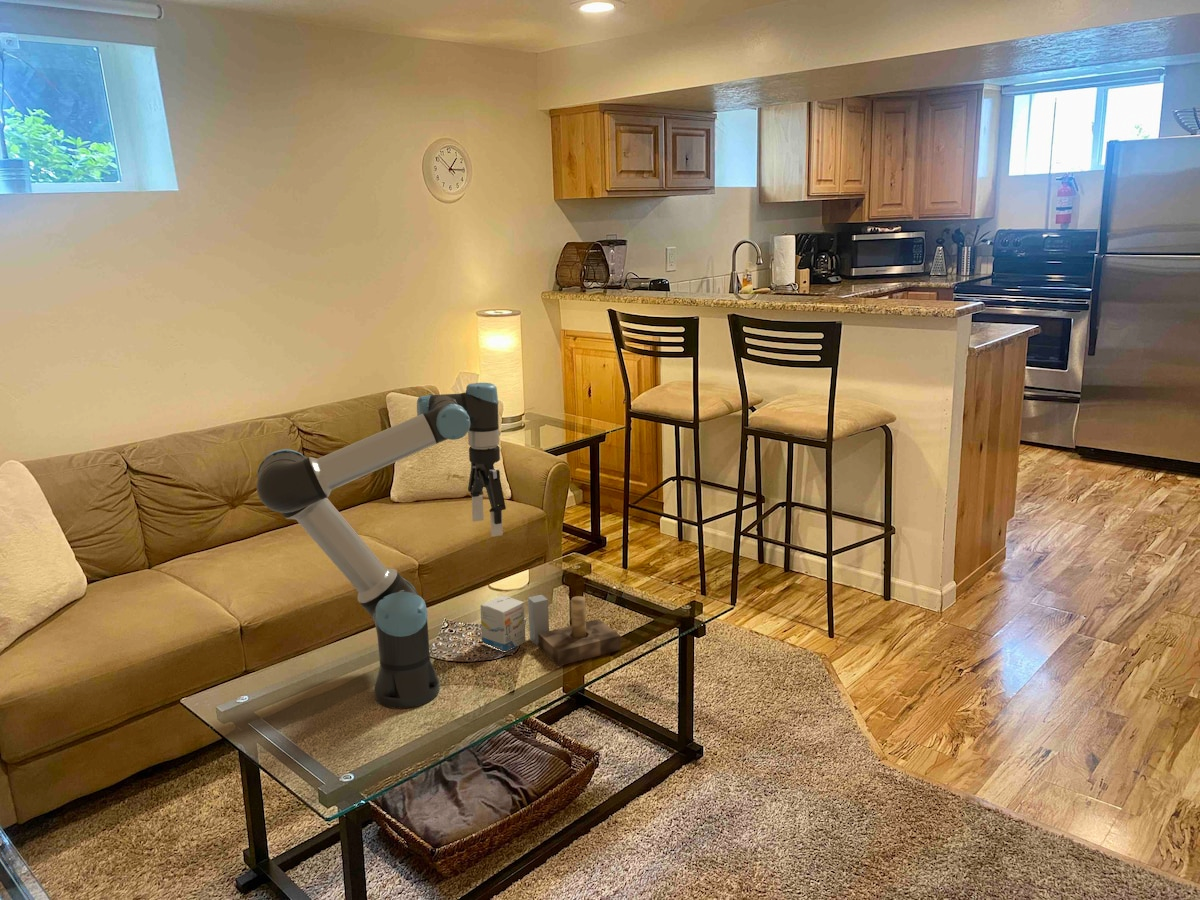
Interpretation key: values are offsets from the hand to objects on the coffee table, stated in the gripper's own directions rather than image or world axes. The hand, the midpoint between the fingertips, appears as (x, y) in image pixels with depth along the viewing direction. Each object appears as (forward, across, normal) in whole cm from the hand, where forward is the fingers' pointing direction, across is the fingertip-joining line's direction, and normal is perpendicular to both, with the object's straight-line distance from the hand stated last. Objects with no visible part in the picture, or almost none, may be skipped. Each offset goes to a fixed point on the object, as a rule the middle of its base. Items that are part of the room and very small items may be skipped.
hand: (487, 528), depth 224 cm
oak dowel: (+34, -9, -21) cm, 41 cm away
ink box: (+34, +4, -5) cm, 35 cm away
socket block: (+34, -9, -21) cm, 41 cm away
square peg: (+34, 0, -14) cm, 37 cm away
